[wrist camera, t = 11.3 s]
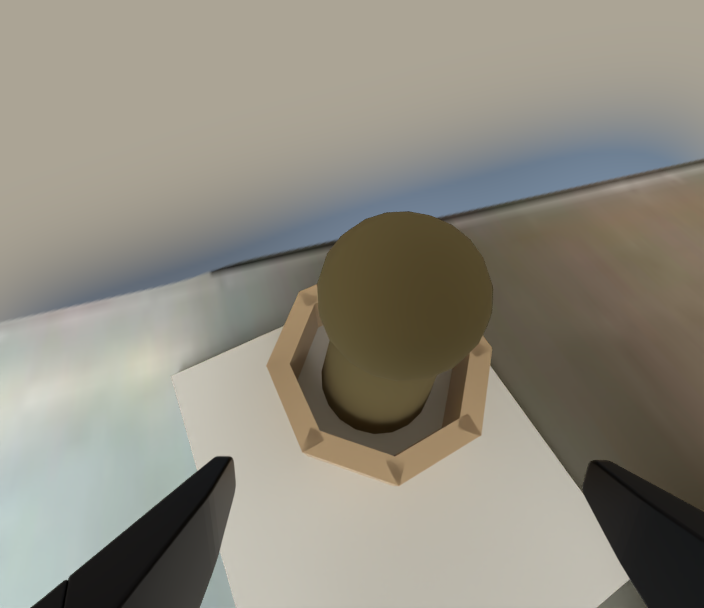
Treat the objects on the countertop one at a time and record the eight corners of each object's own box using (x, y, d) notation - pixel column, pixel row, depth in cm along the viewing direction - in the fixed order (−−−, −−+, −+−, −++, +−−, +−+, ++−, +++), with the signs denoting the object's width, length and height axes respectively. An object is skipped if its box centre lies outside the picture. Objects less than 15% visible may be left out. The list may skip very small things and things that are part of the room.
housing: (625, 567, 16) (703, 591, 12) (307, 832, 12) (294, 975, 8) (415, 272, 23) (428, 236, 19) (177, 379, 19) (141, 358, 16)
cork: (443, 347, 19) (544, 215, 10) (411, 453, 17) (507, 420, 7) (346, 311, 20) (349, 157, 11) (302, 406, 18) (252, 318, 8)
